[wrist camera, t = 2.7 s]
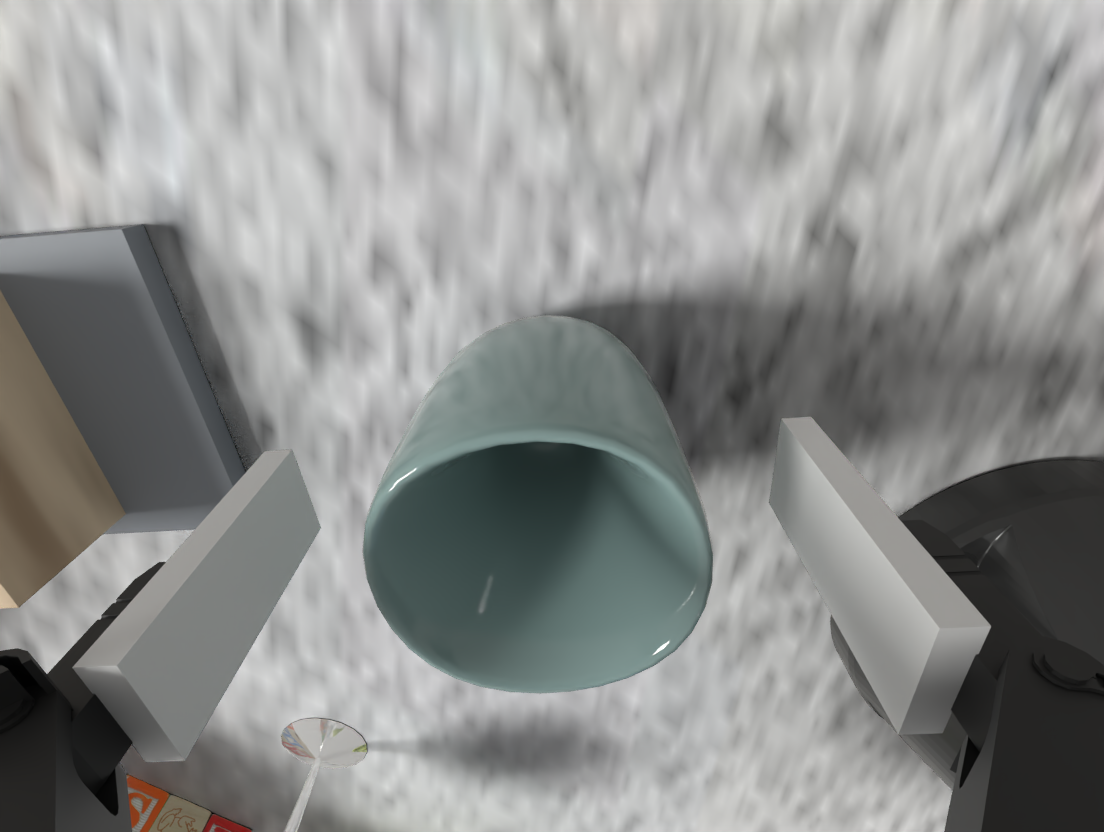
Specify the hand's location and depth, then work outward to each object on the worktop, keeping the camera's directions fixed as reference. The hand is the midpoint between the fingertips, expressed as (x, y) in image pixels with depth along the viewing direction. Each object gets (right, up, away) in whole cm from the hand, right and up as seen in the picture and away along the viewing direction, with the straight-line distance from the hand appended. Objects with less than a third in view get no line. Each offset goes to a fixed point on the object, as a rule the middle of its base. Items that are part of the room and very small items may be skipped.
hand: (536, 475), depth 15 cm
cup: (0, +3, +6) cm, 7 cm away
